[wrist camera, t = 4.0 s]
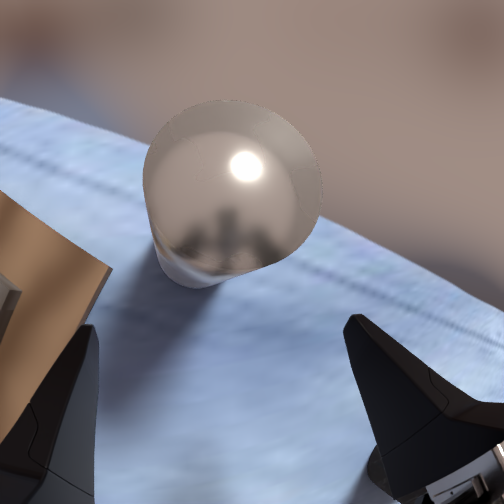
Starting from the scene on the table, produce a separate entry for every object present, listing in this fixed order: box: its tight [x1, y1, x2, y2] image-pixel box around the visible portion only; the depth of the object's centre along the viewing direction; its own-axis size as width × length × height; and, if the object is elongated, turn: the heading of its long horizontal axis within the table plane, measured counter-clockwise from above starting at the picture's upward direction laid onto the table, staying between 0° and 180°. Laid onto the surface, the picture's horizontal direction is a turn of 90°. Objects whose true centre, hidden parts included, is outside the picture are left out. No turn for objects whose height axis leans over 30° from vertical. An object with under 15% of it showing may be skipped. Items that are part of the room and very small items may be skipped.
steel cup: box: [143, 100, 323, 289], centre depth 15 cm, size 6×6×13 cm
